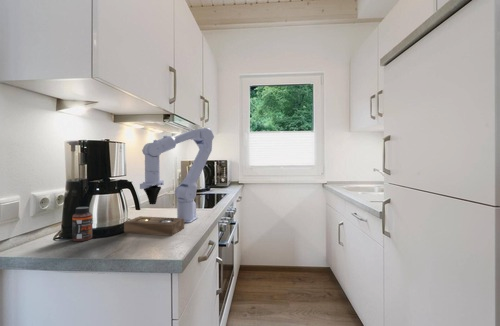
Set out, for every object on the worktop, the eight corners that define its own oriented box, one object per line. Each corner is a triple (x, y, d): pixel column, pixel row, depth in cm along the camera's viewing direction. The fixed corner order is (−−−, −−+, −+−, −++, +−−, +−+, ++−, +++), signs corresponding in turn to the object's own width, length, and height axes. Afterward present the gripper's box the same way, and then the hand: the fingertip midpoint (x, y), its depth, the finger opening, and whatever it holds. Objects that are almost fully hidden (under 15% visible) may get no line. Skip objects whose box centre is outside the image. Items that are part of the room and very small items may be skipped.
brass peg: (142, 227, 106) (142, 218, 106) (150, 227, 105) (150, 219, 105) (136, 229, 102) (135, 221, 102) (145, 230, 101) (145, 221, 101)
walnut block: (140, 225, 110) (139, 216, 109) (184, 228, 106) (183, 218, 106) (124, 232, 100) (124, 222, 100) (172, 235, 96) (172, 224, 96)
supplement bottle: (82, 242, 88) (82, 209, 88) (68, 241, 89) (67, 208, 89) (96, 237, 94) (96, 206, 94) (82, 236, 95) (82, 205, 95)
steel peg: (164, 228, 104) (164, 219, 104) (173, 228, 103) (173, 220, 103) (159, 231, 100) (159, 222, 100) (168, 231, 99) (168, 222, 99)
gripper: (153, 170, 116) (153, 200, 116) (132, 172, 101) (133, 207, 102) (167, 170, 114) (168, 201, 115) (148, 172, 100) (149, 207, 100)
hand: (152, 204), depth 108 cm, fingers closed
